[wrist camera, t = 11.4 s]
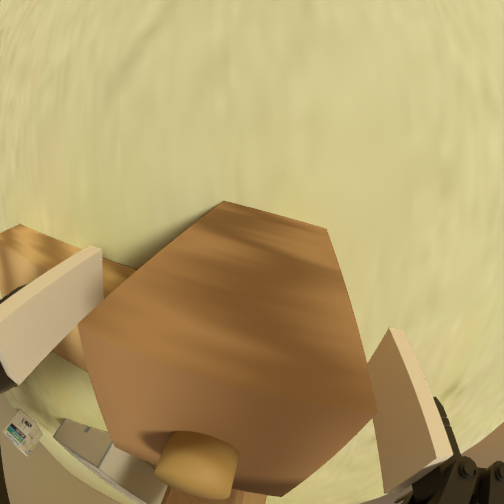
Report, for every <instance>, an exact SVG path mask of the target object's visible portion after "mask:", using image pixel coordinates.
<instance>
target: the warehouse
mask: <svg viewBox="0 0 504 504" xmlns="http://www.w3.org/2000/svg"><path fill="white" fill-rule="evenodd" d="M53 438H54V439H55V440H56V441H58V442H59V443H60V444H61V445H62V446H63V447H64V448H65V449H66V450H67V451H68V452H69V453H70V454H72V455H73V456H74V457H75V458H76V459H77V460H78V461H80V462H81V463H82V464H83V465H84V466H86V467H87V468H88V469H89V470H91V471H92V472H93V473H94V474H96V475H97V476H98V477H100V478H101V479H102V480H104V481H105V482H106V483H108V484H109V485H111V486H112V487H114V488H115V489H116V490H118V491H119V492H121V493H122V494H124V495H125V496H127V497H129V498H130V499H132V500H133V501H135V502H137V503H138V504H161V502H162V499H163V497H164V494H165V492H166V489H167V487H168V485H166V484H164V483H163V482H161V481H160V480H158V479H157V478H156V477H155V476H154V471H155V469H154V468H152V467H151V466H150V465H149V464H148V463H147V462H145V461H144V460H142V459H139V458H137V457H135V456H133V455H130V454H128V453H126V452H124V451H122V450H120V449H118V448H116V447H115V446H114V444H113V442H112V439H111V437H110V434H109V432H106V431H102V430H99V429H95V428H92V427H88V426H86V425H83V424H80V423H77V422H74V421H71V420H69V419H67V418H66V419H65V420H64V422H63V423H62V424H61V426H60V427H59V429H58V430H57V431H56V433H55V434H54V436H53Z"/></svg>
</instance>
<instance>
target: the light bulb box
mask: <svg viewBox="0 0 504 504" xmlns="http://www.w3.org/2000/svg"><path fill="white" fill-rule="evenodd" d="M3 433H4V434H5V435H6V436H7V437H8V439H9V440H10V441H11V442H12V443H13V444H14V445H15V446H16V447H17V448H18V449H19V450H20V451H22V452H23V453H24V454H25V455H26V456H28V455H29V454H30V452H31V451H32V449H33V447H34V446H35V445H36V443H37V442H38V440H39V439H40V438H41V436H42V433H41V431H40V430H39V428H38V426H37V424H36V423H35V422H34V421H33V420H32V419H31V418H29V417H28V416H27V415H26V414H25V413H24V412H23V411H22V410H21V409H20V410H19V411H18V412H17V414H16V415H15V416H14V417H13V419H12V420H11V421H10V423H9V424H8V425H7V427H6V428H5V429H4V430H3Z"/></svg>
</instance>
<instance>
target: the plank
mask: <svg viewBox="0 0 504 504" xmlns="http://www.w3.org/2000/svg"><path fill="white" fill-rule="evenodd" d="M79 251H81V249H79V248H76V247H74V246H71V245H69V244H66V243H64V242H61V241H59V240H56V239H54V238H51V237H49V236H46V235H44V234H42V233H39V232H37V231H35V230H32V229H30V228H28V227H25V226H23V225H21V224H20V225H17V226H15V227H13V228H11V229H8V230H6V231H4V232H2V233H0V290H1V294H2V297H5V296H6V295H7V294H8V295H9V293H10V292H12V291H13V290H14V289H16V288H17V287H20V286H23V285H25V284H28V283H31V282H32V281H34V280H35V279H37V278H38V277H40V276H41V275H43V274H44V273H46V272H47V271H49V270H50V269H52V268H53V267H55V266H56V265H58V264H60V263H61V262H63V261H64V260H66V259H68V258H69V257H71V256H73V255H74V254H76V253H77V252H79ZM102 266H103V292H104V299H105V298H106V297H107V296H108V295H109V294H111V293H112V292H113V291H114V290H115V289H116V288H117V287H118V286H120V285H121V284H122V283H123V282H124V281H125V280H126V279H128V278H129V277H130V276H131V275H132V274H133V273H135V272H136V271H137V270H136V269H133V268H130V267H127V266H124V265H122V264H119V263H116V262H113V261H111V260H108V259H105V258H102ZM52 351H54V352H55V353H57V354H58V355H60V356H61V357H63V358H65V359H66V360H68V361H69V362H71V363H73V364H74V365H76V366H78V367H80V368H81V369H83V370H85V371H87V372H88V369H87V365H86V361H85V357H84V353H83V349H82V344H81V340H80V335H79V330H78V325H77V326H76V327H75V328H74V329H72V330H71V331H70V332H69V333H68V334H67V335H66V336H65V337H64V338H63V339H62V340H61V341H60V342H59V344H58V345H57V346H56V347H55V348H54V349H53V350H52ZM88 373H89V372H88Z"/></svg>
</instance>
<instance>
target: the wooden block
mask: <svg viewBox="0 0 504 504" xmlns="http://www.w3.org/2000/svg"><path fill="white" fill-rule="evenodd" d="M266 497H267V495H263V494H257V493H251V492H246V491H241V490H236V489H231V492H230V496H229V497H228V498H226V499H208V498H202V497H197V496H193V495H190V494H187V493H184V492H181V491H178V490H176V489H174V488H172V487H170V486H168V487H167V489H166V492H165V494H164V497H163V499H162V502H161V504H265V503H266Z"/></svg>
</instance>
